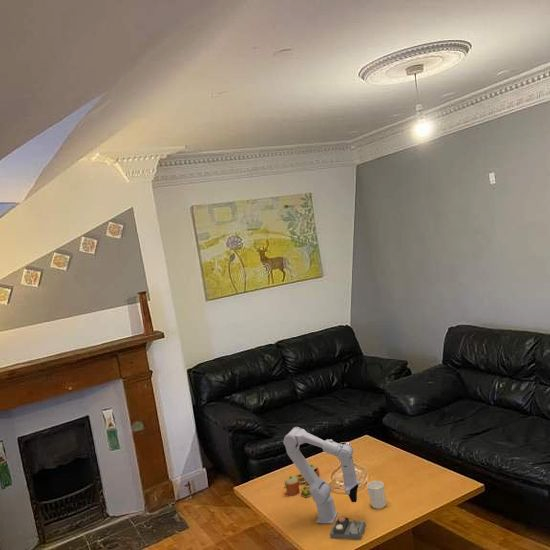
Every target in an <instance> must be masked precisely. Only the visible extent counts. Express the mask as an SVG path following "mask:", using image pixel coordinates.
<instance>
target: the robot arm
mask: <svg viewBox="0 0 550 550" xmlns="http://www.w3.org/2000/svg"><path fill="white" fill-rule="evenodd" d="M282 444H283V445H284V446H285V450H286V454H287V456H288V457H289V459H290V460H291V461H292V463H293V464H294V465H295V467H296V468H297V470H298V471H299V472H300V474H302V475H303V477H304V478H305V480H306V481H307V482H308V484H309V485H310V493H311V498H312V500H313V502H314V504H315V505H316V506H315V507H316V510H317V517H318V518H317V520H316V522H315V523H316V524H334V523H335V522H334V521H336V517H337V515H338V513H339V512H338V511H336V510H337V509H336V505H335V501H334V498H333V496H331V494H332V491H333V489H332V486H331V484H330V483H328V482H327V481H326V480H325V479H324V478H321V477H320V476H319V477H318V476H317V474H316V473H315V472H314V470H313V469H312V467H311V466H310V463H309V462H308V461H307V459H306V458H305V456H304V455H303V454H302V453H303V452H301V450H300V445H303V444H309V445H311V446H315V447H318V448H321V449H322V451H323V452H325V453H326V454H329V455H331V456H334V457H337V459H338V461H340V466H341V467H340V468H341V471H342V478H343V487H344V494H345V495H348V497H349V499H350V502H351V503H356V502H358V501H357V500H358V488H359V484H360V483H361V482H360V480H358V476H357V473H356V469H355V463H354V458H353V457H354V456H353V454H354V448H353V447H352V446H351V445H350V444H349V443H338V442H336V441H334V440H333V439H331V438H330V439H328V438H327V439H325V440H323V439H322V438H320V437H318V436H316V435H314V434H311V433H309V432H307V431H306V430H305V429H304V428H301V427H299V426H294V427H292V429H291V430H290V431H289V432H288V433H287V434H285V436H284V437H283V442H282Z"/></svg>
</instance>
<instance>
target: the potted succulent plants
mask: <svg viewBox="0 0 550 550" xmlns="http://www.w3.org/2000/svg"><path fill="white" fill-rule="evenodd" d="M309 465H310V466H311V467H312V469H313V470H314V472H315V473H316V474H317V476H318V477H319V478H320V469H319V467H317V466H315V465H314V464H313V463H309ZM303 484H304V485H305V486H302V487H301V492H300V485H303ZM283 489H286V492H287V494H288V495H289V496H291V497H292V496H297V495H298V494H299V493H300V494H301V495H300V496H301V497H304V498H308V497H309V498H310V497H312V495H311V493H310V485H309V484H308V482H307V481H306V480H305V478H304V477H303V475H302V474H301V473H298V474H297V473H296V474H295V475H294V476H292V475H289V477H288V478H287V479H286V480H285V481H284V485H283Z"/></svg>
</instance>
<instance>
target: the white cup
mask: <svg viewBox="0 0 550 550" xmlns="http://www.w3.org/2000/svg"><path fill="white" fill-rule="evenodd" d="M366 488H367V491H368V497H369V501H370V504H371V507H372V508H373V509H375V510H376V509H379V510H380V509H384V507H386V505H387V501H386V492H385V484H384V482H382V481H380V480H372V481H370V482H368V483H367V484H366Z"/></svg>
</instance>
